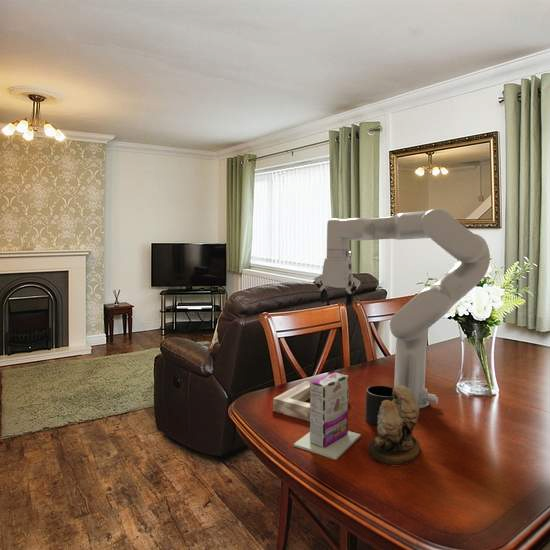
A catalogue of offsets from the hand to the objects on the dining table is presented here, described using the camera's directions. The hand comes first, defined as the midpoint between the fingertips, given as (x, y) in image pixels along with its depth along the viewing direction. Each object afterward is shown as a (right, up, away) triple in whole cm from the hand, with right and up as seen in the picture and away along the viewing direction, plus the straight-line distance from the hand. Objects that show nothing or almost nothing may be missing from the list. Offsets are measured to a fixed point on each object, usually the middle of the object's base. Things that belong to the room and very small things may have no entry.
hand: (336, 303), depth 154 cm
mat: (-7, -34, -38) cm, 51 cm away
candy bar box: (-7, -34, -38) cm, 51 cm away
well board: (-10, -32, -15) cm, 36 cm away
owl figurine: (+9, -35, -42) cm, 55 cm away
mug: (+11, -33, -24) cm, 42 cm away
